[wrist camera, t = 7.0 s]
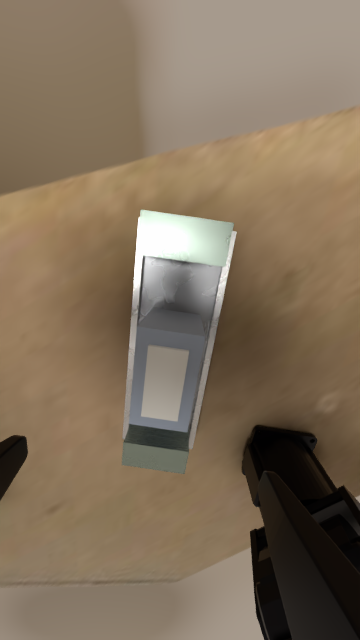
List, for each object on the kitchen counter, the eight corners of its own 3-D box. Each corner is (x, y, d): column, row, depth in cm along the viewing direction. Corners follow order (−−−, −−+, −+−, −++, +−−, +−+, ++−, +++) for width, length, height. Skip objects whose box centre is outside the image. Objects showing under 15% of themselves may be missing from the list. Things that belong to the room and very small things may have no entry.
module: (200, 314, 16) (205, 338, 11) (187, 387, 18) (187, 435, 13) (152, 307, 16) (135, 327, 11) (144, 381, 18) (127, 426, 13)
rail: (230, 235, 16) (246, 224, 11) (192, 432, 21) (193, 475, 17) (144, 223, 16) (128, 207, 11) (128, 423, 21) (113, 463, 17)
